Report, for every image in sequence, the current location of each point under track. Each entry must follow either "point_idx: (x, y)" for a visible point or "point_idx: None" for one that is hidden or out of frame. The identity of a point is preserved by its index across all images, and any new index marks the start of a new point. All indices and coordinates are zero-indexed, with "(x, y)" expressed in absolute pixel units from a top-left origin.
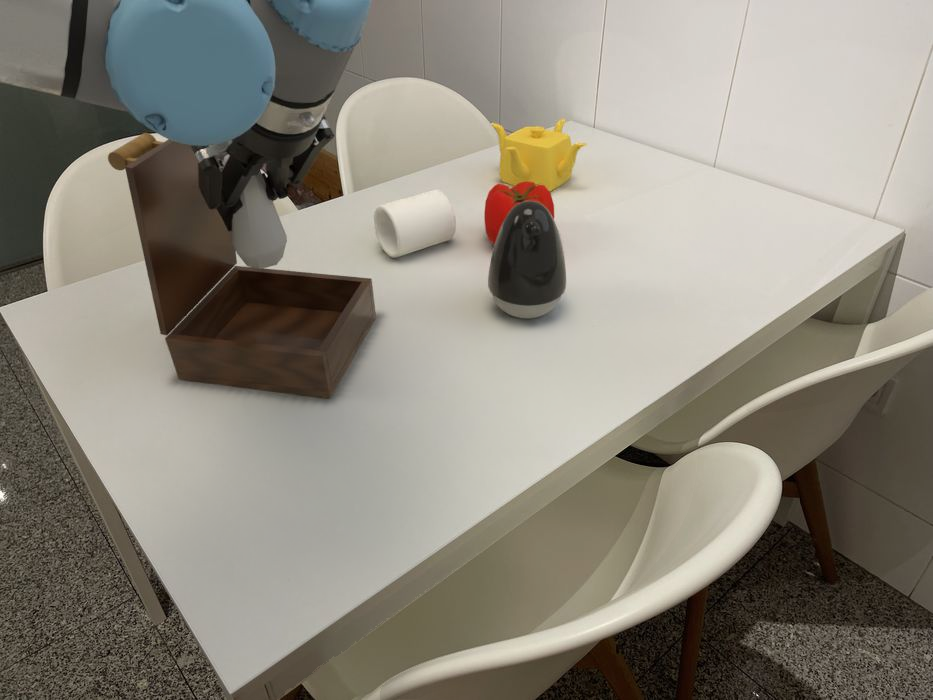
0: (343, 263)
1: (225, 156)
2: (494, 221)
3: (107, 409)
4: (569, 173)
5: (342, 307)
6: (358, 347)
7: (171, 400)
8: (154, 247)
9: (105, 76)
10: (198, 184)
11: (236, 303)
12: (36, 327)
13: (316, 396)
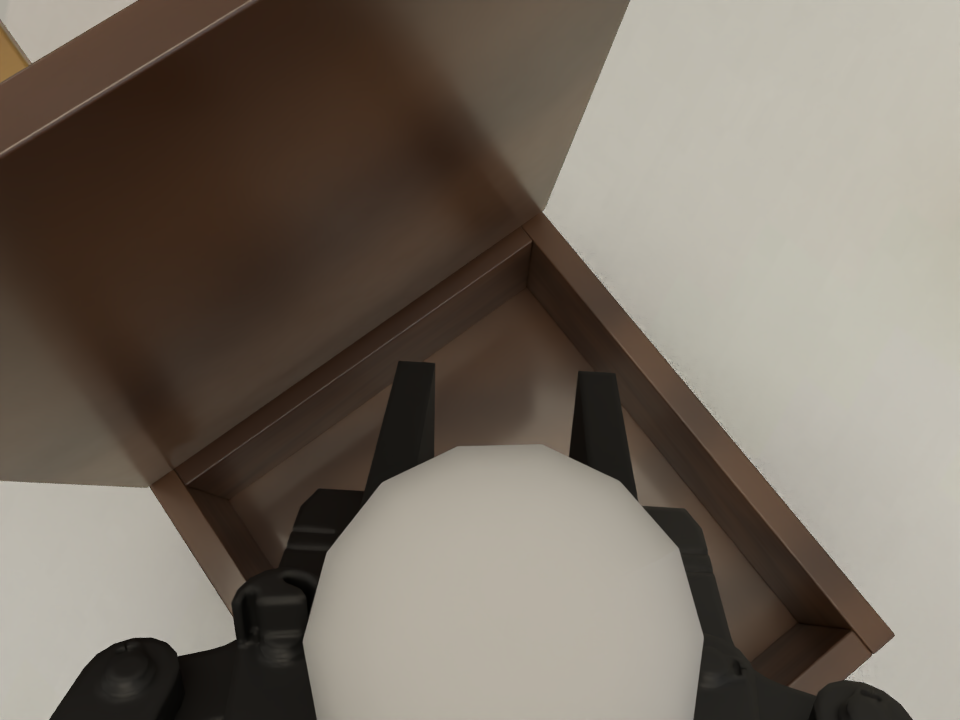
0: (899, 258)
1: (321, 690)
2: None
3: (5, 490)
4: None
5: (748, 553)
6: None
7: (142, 575)
8: (14, 455)
9: None
10: (57, 708)
11: (482, 309)
12: (49, 2)
13: None
